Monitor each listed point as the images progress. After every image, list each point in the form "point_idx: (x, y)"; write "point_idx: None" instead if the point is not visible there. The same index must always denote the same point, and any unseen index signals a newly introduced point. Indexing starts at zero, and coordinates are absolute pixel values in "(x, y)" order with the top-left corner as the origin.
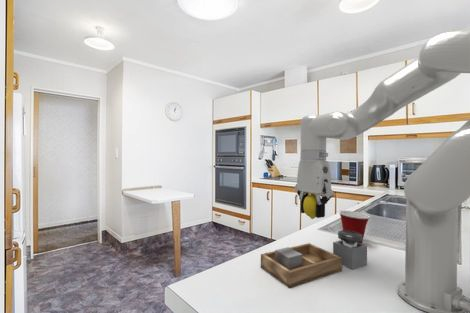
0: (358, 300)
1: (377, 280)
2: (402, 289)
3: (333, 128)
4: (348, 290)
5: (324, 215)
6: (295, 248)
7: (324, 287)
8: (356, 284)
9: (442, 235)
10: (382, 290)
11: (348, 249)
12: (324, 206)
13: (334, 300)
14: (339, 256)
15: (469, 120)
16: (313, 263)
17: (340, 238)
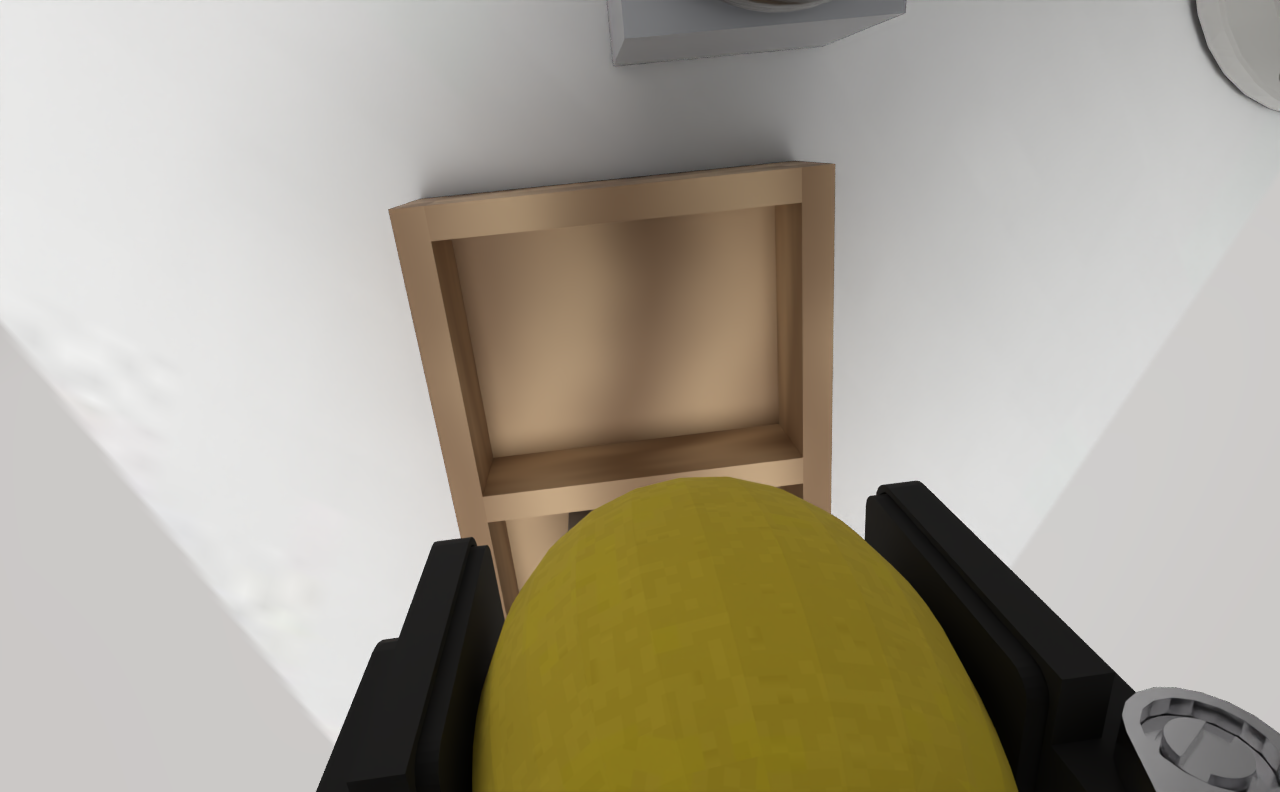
0: (1076, 364)
1: (1033, 5)
2: (1258, 19)
3: None
4: (987, 336)
5: (923, 497)
6: (471, 429)
7: (888, 445)
8: (975, 224)
9: None
10: (1117, 115)
11: (844, 19)
12: (1114, 691)
13: (1000, 481)
14: (808, 166)
15: None
16: (804, 483)
17: (752, 8)
